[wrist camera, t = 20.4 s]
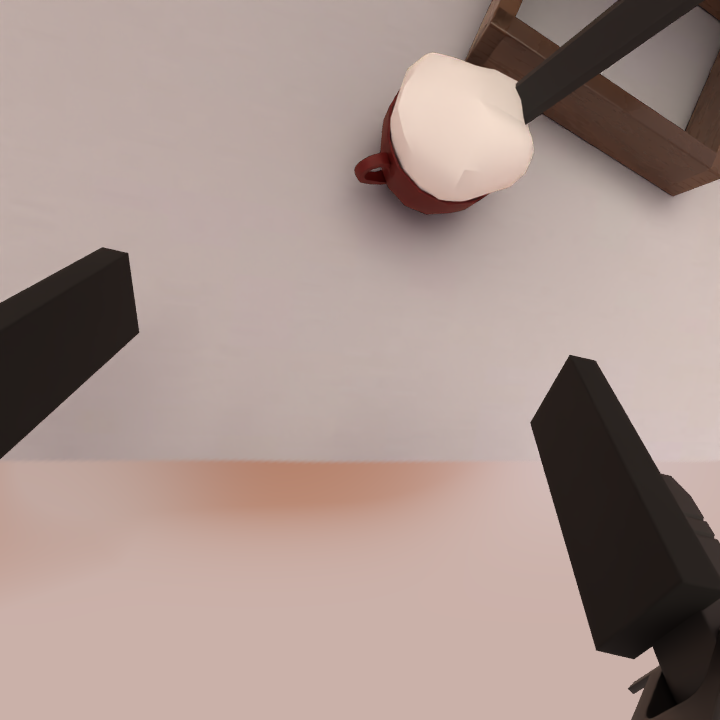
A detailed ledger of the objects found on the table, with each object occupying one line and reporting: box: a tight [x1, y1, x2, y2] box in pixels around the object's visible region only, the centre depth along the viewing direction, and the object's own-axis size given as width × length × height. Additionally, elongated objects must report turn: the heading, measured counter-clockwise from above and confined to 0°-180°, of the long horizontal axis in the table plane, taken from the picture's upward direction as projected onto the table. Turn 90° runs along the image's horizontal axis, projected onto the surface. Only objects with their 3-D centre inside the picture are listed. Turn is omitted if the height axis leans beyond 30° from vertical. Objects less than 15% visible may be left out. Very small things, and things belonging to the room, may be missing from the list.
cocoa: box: [354, 0, 704, 215], centre depth 17 cm, size 10×6×12 cm, turn 88°
